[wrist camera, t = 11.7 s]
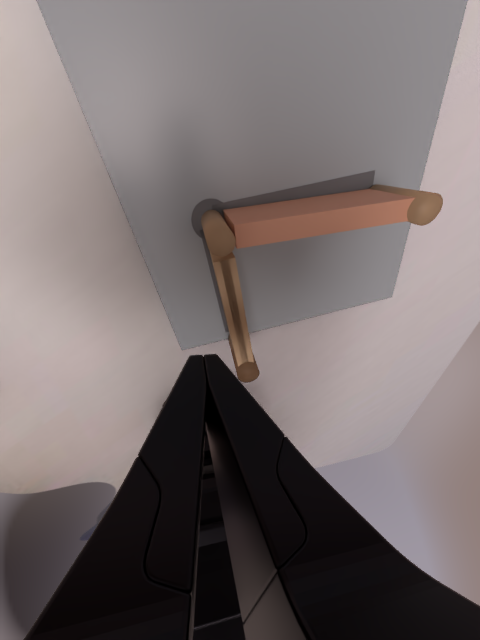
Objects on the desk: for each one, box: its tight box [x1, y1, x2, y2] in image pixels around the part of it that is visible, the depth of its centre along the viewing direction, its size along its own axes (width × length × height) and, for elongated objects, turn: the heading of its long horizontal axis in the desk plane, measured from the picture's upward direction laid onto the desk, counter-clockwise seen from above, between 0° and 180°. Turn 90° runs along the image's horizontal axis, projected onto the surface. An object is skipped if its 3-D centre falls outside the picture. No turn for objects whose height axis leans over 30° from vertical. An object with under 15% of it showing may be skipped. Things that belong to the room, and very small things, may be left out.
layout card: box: [36, 0, 468, 350], centre depth 16 cm, size 22×20×1 cm
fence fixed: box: [209, 250, 259, 382], centre depth 17 cm, size 10×2×4 cm, turn 9°
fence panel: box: [201, 184, 443, 257], centre depth 14 cm, size 13×2×4 cm, turn 95°
